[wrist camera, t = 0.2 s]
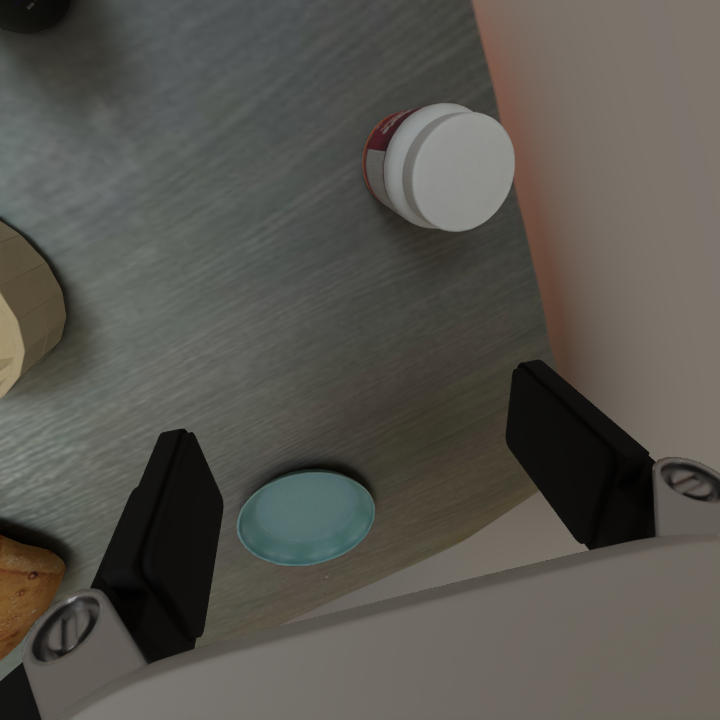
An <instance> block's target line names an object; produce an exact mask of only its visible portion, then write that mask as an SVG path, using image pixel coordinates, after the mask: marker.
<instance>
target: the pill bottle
mask: <svg viewBox="0 0 720 720" xmlns="http://www.w3.org/2000/svg"><path fill="white" fill-rule="evenodd" d="M362 170H363V175H364V179H365V182H366V184H367V186H368V188H369V190H370V191H371V193H372V194H373V195H374V196H375V198H376V199H378V200H379V201H380V202H381V203H383V204H384V205H386V206H387V207H389V208H390V209H392V210H393V211H394V212H396V213H397V214H399V215H400V216H402V217H403V218H405V219H406V220H407V221H409V222H410V223H413V224H415V225H418V226H421V227H425V228H439V229H442V230H445V231H452V232H459V231H466V230H469V229H472V228H475V227H477V226H479V225H481V224H482V223H484V222H485V221H487V220H488V219H489V218H490V217H491V216H493V215H494V213H495V212H496V211H497V210H498V209H499V208H500V206H501V205H502V203H503V202H504V200H505V198H506V196H507V195H508V193H509V190H510V187H511V185H512V181H513V177H514V170H515V156H514V149H513V145H512V142H511V140H510V137H509V136H508V134H507V132H506V131H505V129H504V128H503V127H502V126H501V125H500V124H499V123H498V122H497V121H496V120H495V119H493V118H491V117H489V116H487V115H485V114H481V113H476V112H472V111H471V110H469V109H468V108H466V107H463V106H461V105H458V104H453V103H439V104H433V105H428V106H423V107H418V108H415V109H409V110H405V111H400V112H397V113H394V114H392V115H390V116H388V117H386V118H384V119H383V120H382V121H381V122H379V123H378V124H377V125H376V126H375V128H374V129H373V130H372V132H371V133H370V135H369V137H368V139H367V141H366V144H365V147H364V150H363V156H362Z"/></svg>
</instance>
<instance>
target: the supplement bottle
mask: <svg viewBox="0 0 720 720" xmlns="http://www.w3.org/2000/svg"><path fill="white" fill-rule="evenodd" d="M70 3H71V0H0V29H2V30H6V31H10V32H14V33H21V34H33V33H38V32H42V31H45V30H47V29H49V28H51V27H53V26H54V25H56V24H57V23H58V22H59V21H60V20H61V19H62V18H63V17H64V15H65V13H66V12H67V10H68V8H69V6H70Z"/></svg>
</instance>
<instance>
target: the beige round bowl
mask: <svg viewBox="0 0 720 720" xmlns="http://www.w3.org/2000/svg"><path fill="white" fill-rule="evenodd" d="M65 320H66V312H65V306H64V300H63V294H62V291H61V288H60V286H59V284H58V282H57V280H56V279H55V277H54V275H53V273H52V271H51V269H50V267H49V266H48V264H47V263H46V261H45V260H44V259H43V258H42V257H41V256H40V255H39V254H38V252H37V251H36V250H35V249H34V248H33V247H32V246H31V245H30V244H29V243H28V242H27V241H26V240H25V239H24V238H23V237H22V236H21V235H20V234H19V233H18V232H16V231H15V230H13V229H12V228H10V227H9V226H7V225H6V224H4V223H3V222H1V221H0V399H1V398H2V397H4V396H5V395H6V394H7V393H8V392H9V391H10V390H11V389H13V388H14V387H15V386H16V385H17V384H18V383H19V382H20V381H21V380H22V379H23V378H24V377H25V376H27V374H29V373H30V372H31V371H32V370H33V369H34V368H35V367H36V366H37V365H38V364H40V363H41V362H42V361H43V360H44V359H45V358H46V357H47V356H48V355H49V353H50V352H51V351H52V350H53V349H54V347H55V346H56V345H57V344H58V343H59V341H60V339H61V337H62V332H63V328H64V324H65Z"/></svg>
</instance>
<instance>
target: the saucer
mask: <svg viewBox="0 0 720 720" xmlns="http://www.w3.org/2000/svg"><path fill="white" fill-rule="evenodd" d="M374 518H375V504H374V501H373V499H372V497H371V495H370V493H369V492H368V491H367V490H366V489H365V488H364V487H363V486H362V485H361V484H359V483H358V482H356V481H355V480H353V479H352V478H350V477H348V476H346V475H343V474H341V473H338V472H334V471H330V470H323V469H305V470H298V471H294V472H290V473H287V474H284V475H282V476H279V477H277V478H275V479H273V480H271V481H270V482H268V483H266V484H265V485H263V486H262V487H261V488H259V489H258V490H257V491H256V492H255V493H254V494H253V495H252V496H251V497H250V498H249V499H248V500H247V501H246V503H245V504H244V505H243V507H242V509H241V510H240V513H239V515H238V519H237V534H238V537H239V539H240V541H241V543H242V544H243V545H244V547H245V548H246V549H247V550H248V551H249V552H251V553H252V554H253V555H255V556H257V557H258V558H261V559H263V560H266V561H268V562H271V563H275V564H279V565H287V566H304V565H312V564H317V563H322V562H325V561H328V560H332V559H334V558H337V557H338V556H341V555H343V554H344V553H346V552H348V551H350V550H351V549H352V548H354V547H355V546H356V545H357V544H358V543H360V542H361V541H362V540H363V539H364V538H365V536H366V535H367V534H368V532H369V531H370V529H371V527H372V524H373V522H374Z"/></svg>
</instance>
